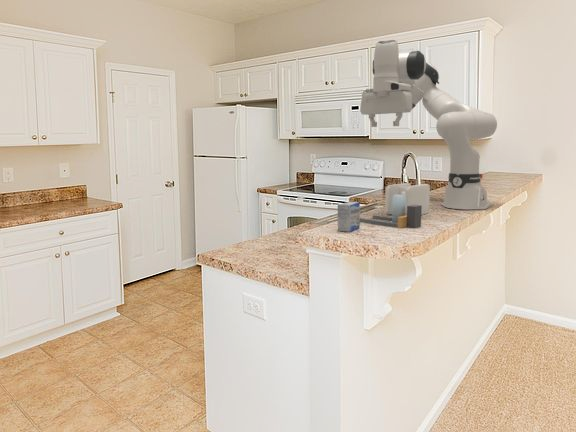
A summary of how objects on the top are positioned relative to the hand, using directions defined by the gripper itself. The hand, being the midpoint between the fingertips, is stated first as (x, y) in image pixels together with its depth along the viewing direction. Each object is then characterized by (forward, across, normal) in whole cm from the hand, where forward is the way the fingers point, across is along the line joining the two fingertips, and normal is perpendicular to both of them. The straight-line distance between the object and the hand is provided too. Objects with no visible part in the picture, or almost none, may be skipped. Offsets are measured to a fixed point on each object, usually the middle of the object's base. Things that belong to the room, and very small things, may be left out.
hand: (384, 126), depth 168 cm
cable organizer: (+33, +4, +10) cm, 35 cm away
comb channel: (+33, +10, -10) cm, 36 cm away
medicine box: (+33, +6, -28) cm, 44 cm away
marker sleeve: (+33, +13, -10) cm, 37 cm away
